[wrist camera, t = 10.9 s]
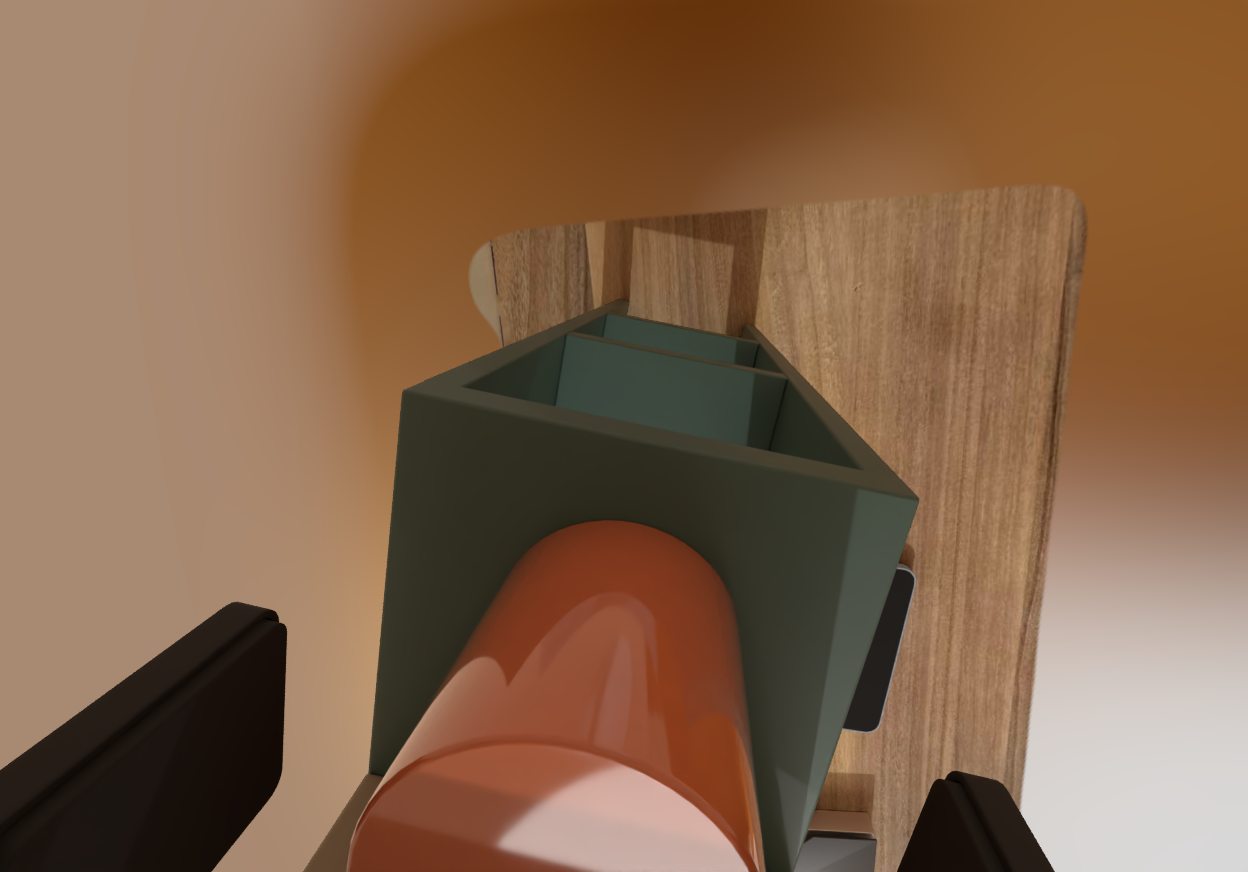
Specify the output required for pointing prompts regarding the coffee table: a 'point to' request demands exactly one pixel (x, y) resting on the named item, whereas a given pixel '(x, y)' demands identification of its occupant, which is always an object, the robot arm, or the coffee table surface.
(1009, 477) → the coffee table surface
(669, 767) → the canister
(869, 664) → the smartphone
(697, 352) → the shelf
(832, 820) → the picture frame
